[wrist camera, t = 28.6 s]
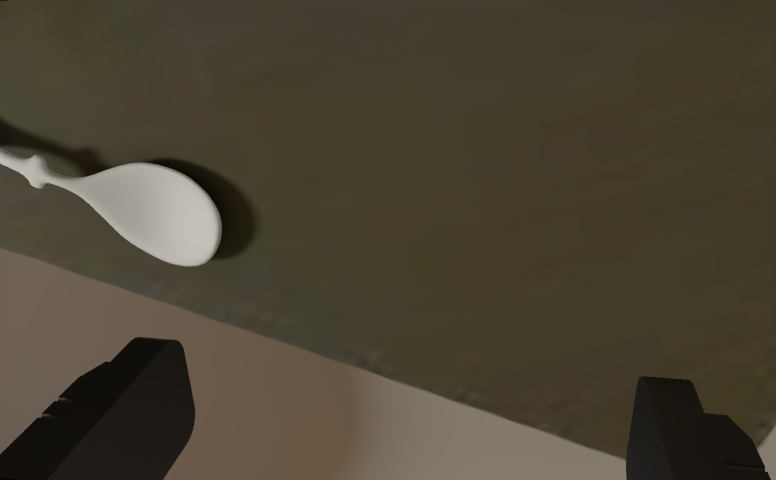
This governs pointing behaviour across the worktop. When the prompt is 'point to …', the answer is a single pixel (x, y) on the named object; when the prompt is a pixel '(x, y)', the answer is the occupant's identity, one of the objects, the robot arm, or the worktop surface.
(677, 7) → the worktop surface
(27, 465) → the robot arm
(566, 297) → the worktop surface
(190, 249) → the spoon
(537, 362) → the worktop surface
